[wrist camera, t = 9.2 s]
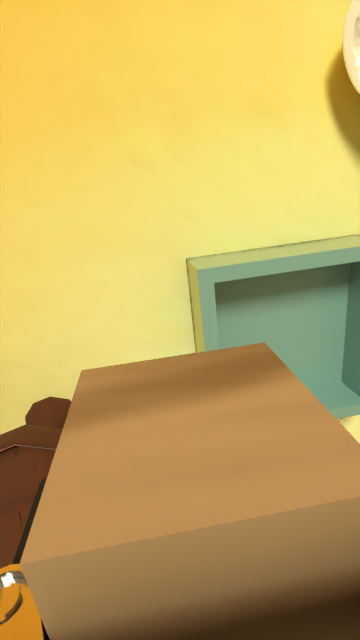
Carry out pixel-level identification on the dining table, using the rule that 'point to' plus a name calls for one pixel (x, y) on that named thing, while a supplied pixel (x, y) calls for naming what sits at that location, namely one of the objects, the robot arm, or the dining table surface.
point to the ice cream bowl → (26, 468)
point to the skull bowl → (352, 43)
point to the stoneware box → (287, 311)
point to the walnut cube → (198, 507)
